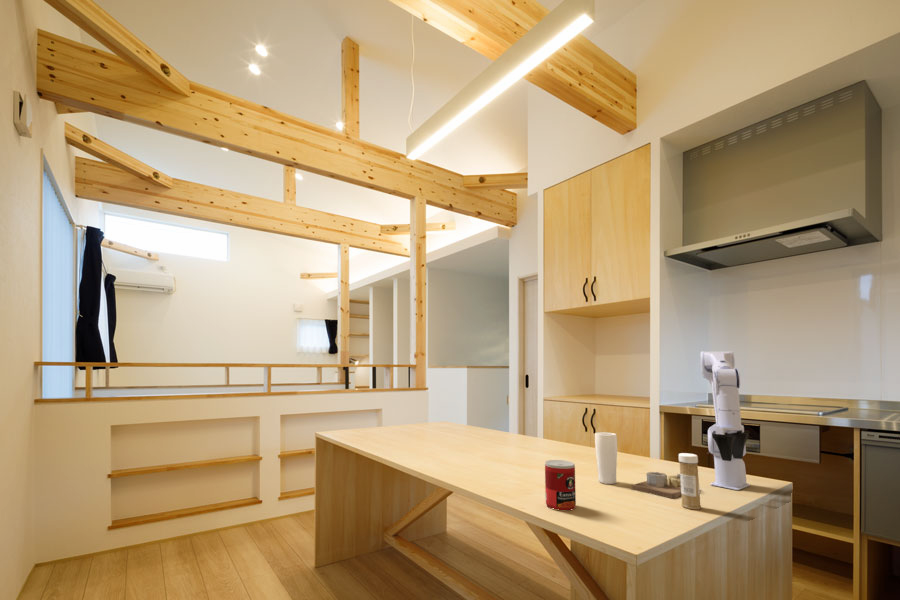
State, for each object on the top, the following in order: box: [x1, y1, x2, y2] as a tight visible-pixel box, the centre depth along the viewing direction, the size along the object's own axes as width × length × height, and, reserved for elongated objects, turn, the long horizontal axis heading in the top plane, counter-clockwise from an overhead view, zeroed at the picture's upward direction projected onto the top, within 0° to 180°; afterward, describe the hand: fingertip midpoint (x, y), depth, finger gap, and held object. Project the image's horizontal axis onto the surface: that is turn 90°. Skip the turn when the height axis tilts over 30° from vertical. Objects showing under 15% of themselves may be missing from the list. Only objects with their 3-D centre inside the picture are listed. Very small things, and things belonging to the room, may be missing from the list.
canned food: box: [544, 459, 577, 511], centre depth 121 cm, size 8×8×11 cm
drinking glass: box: [594, 431, 618, 485], centre depth 146 cm, size 7×7×15 cm
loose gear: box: [646, 471, 668, 488], centre depth 138 cm, size 5×5×3 cm
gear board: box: [631, 473, 682, 499], centre depth 138 cm, size 16×12×4 cm
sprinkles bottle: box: [678, 452, 702, 510], centre depth 121 cm, size 5×5×13 cm
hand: (732, 459), depth 131 cm, fingers open, 7 cm apart
